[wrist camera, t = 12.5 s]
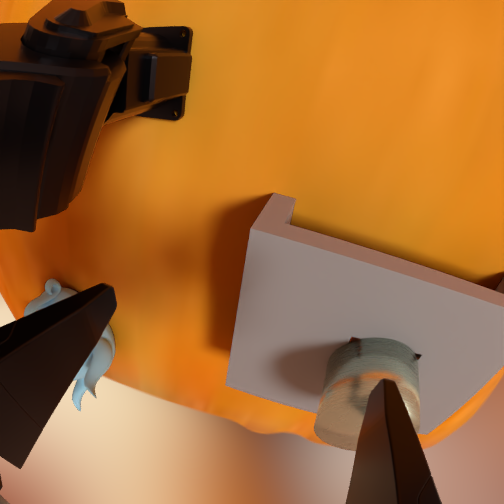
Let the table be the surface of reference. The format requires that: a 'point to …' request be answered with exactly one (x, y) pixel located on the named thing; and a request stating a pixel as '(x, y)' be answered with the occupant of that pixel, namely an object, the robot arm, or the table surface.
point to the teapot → (98, 357)
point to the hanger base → (355, 317)
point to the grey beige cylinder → (363, 386)
